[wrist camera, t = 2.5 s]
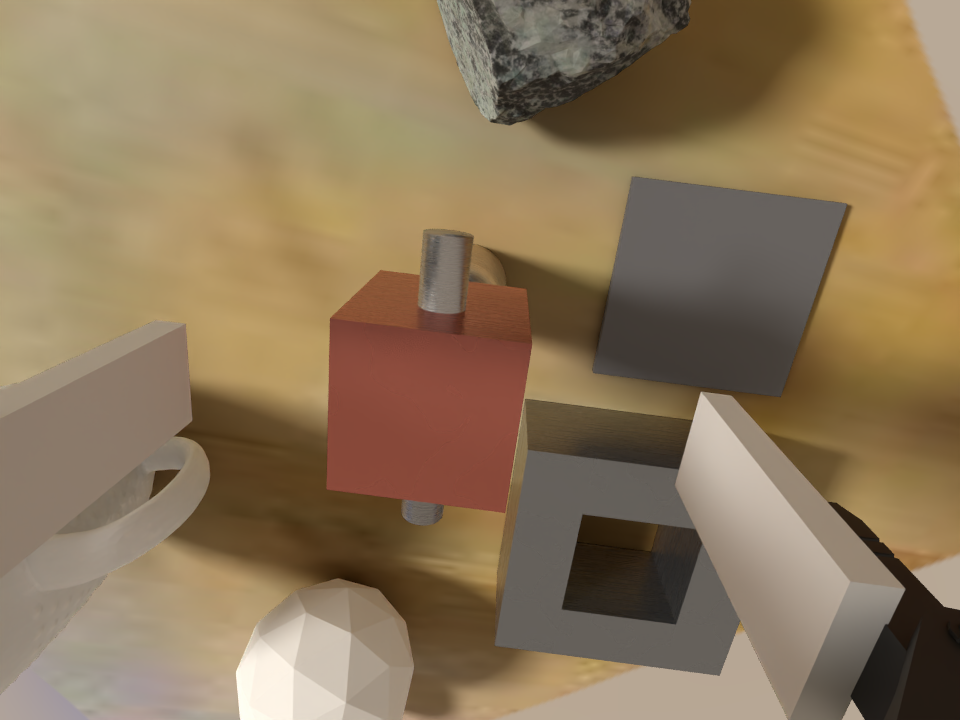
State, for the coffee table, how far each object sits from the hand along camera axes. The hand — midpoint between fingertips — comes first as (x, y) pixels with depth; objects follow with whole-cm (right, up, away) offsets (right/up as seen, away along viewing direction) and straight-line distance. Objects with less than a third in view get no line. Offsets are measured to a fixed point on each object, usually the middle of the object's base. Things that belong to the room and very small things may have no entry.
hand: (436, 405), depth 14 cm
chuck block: (+8, -7, +16) cm, 19 cm away
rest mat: (+12, +4, +11) cm, 17 cm away
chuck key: (+1, +5, +12) cm, 13 cm away
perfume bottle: (-7, -15, +20) cm, 26 cm away
